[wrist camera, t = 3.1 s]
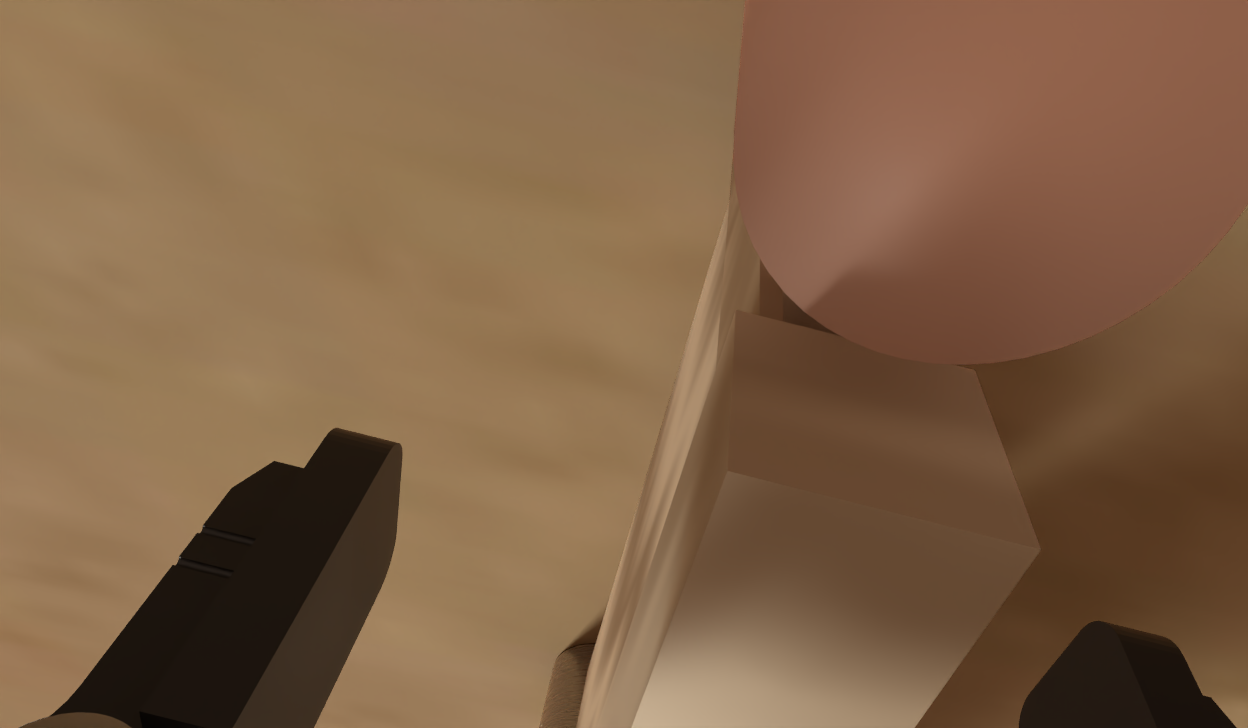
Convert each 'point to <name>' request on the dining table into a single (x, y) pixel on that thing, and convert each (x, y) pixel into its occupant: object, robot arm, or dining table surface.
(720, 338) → the light wood flat panel
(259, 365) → the dining table surface
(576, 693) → the hinge post
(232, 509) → the robot arm
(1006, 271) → the post
